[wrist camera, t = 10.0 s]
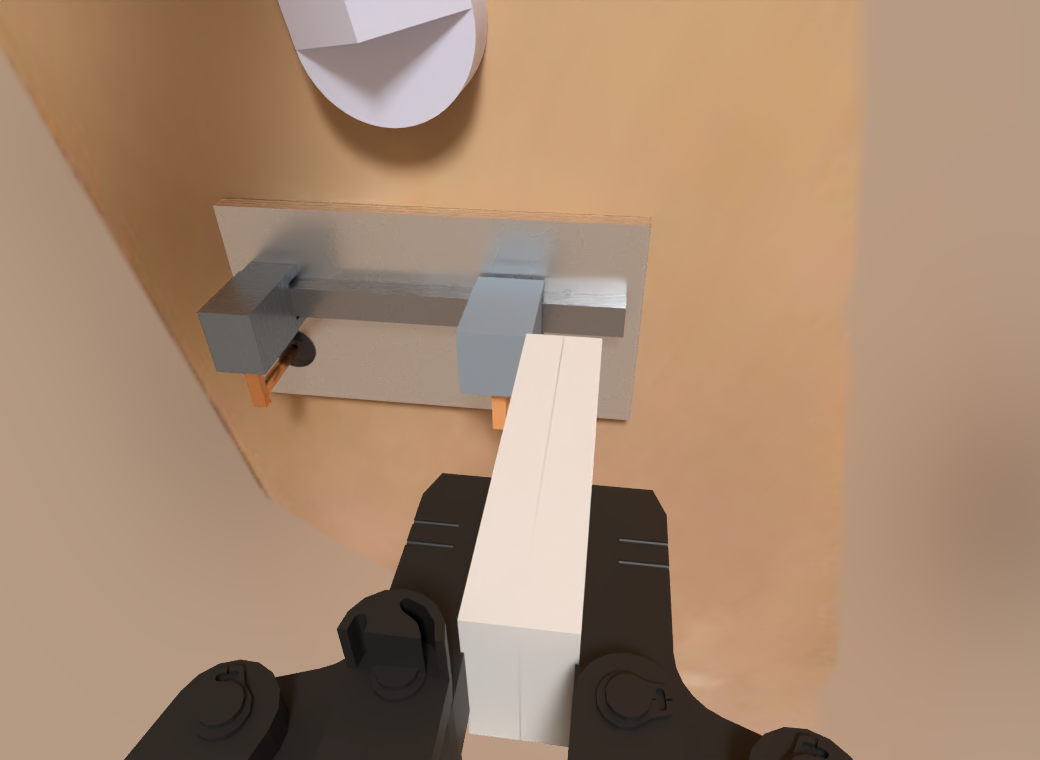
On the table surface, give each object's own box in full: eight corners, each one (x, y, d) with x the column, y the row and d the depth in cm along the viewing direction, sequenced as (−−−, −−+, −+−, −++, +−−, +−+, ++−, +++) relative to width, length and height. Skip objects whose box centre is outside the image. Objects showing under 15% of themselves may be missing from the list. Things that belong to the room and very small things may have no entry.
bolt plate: (222, 198, 42) (151, 252, 36) (650, 217, 39) (653, 280, 33) (272, 382, 50) (222, 451, 44) (629, 409, 47) (628, 488, 41)
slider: (478, 275, 41) (455, 332, 36) (544, 278, 41) (531, 337, 35) (483, 372, 45) (463, 436, 40) (543, 377, 45) (531, 442, 40)
